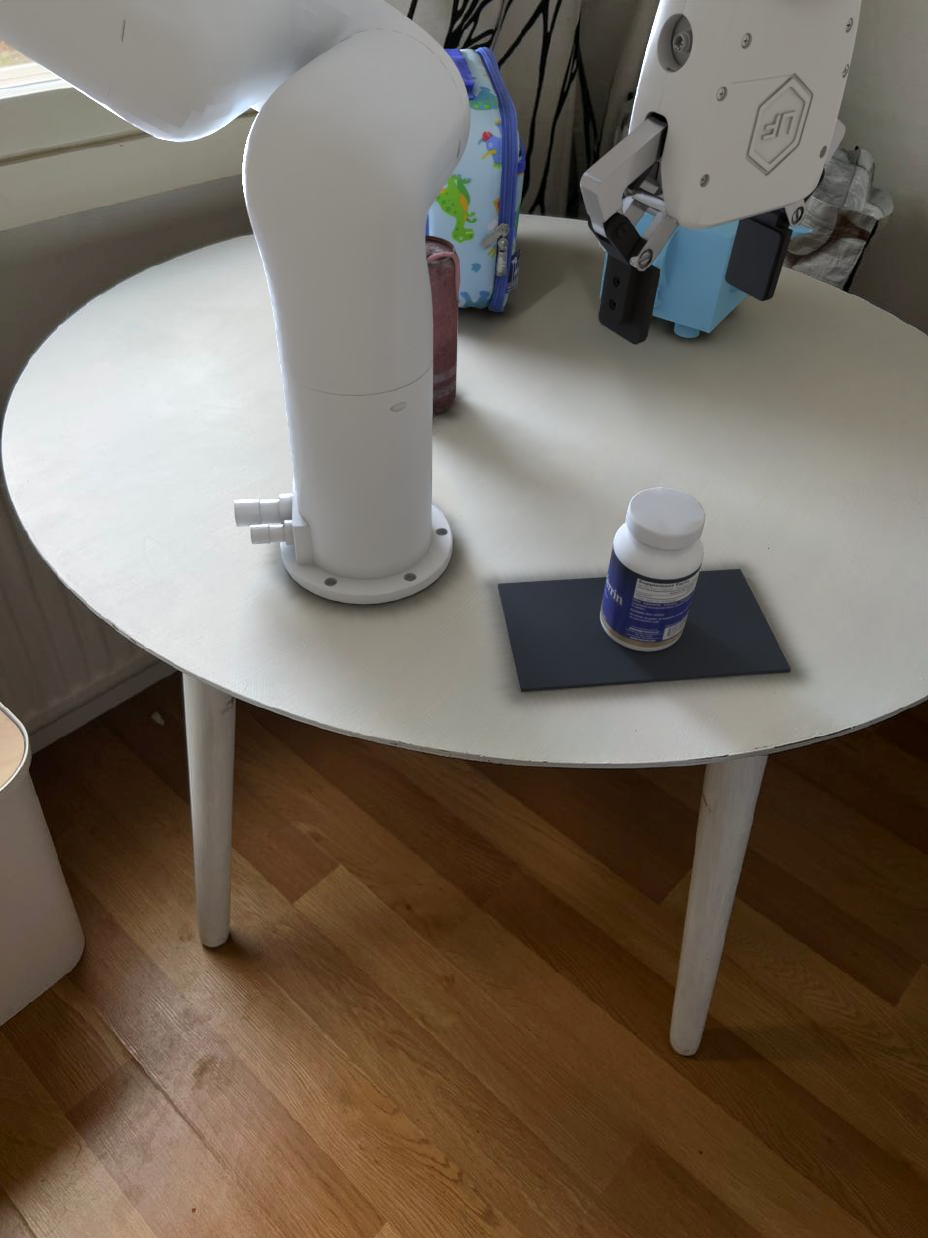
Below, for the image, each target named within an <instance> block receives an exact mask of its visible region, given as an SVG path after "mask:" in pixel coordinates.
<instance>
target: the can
mask: <svg viewBox="0 0 928 1238" xmlns="http://www.w3.org/2000/svg"><path fill="white" fill-rule="evenodd" d="M425 247H426V259H427V265H428V272H429V278H430V285H431V295H432V308H433V418H434V417H439V416H440V415H444V414H445V413H446V412H448V411H449V410H450V408H451V407H452V406H453V405H454V403H455V401H456V398H457V377H458V376H457V373H458V372H457V371H458V370H457V367H458V337H459V336H458V334H459V307H458V302H459V287H460V261H459V258H458V255H457V253H456V251H455V247H454V245H453V244H452V243H451V242H449V241H447V240H445V239H443V238H439V237H435V236H428V235H425Z"/></svg>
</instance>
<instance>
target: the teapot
mask: <svg viewBox="0 0 928 1238" xmlns="http://www.w3.org/2000/svg"><path fill="white" fill-rule="evenodd" d="M625 198H626V197H624V198H622V202H623V201H624V200H625ZM663 199H664V198H663ZM654 218H655V216H653V215H651V214H649V213H647V212H645V213H644V215H643V216H642V218H641V219H640V221H639V222H638V223H637V225H636V226H635V229H636V230H637V232H638V233H639V235H640V236H641V237H642V235H643V234H644V232H645V231H646V230H647V228H648V227H649V225H650V224H651V222H652V221H653V219H654ZM738 223H739V220H737V221H734V222H730V223H726V224H722V225H719V226H715V227H711V228H707V229H701V230H691V229H687V228H685V227H683V226H681V225H680V224H679V226H678V227H677V229H676V230H675V231H674V233H673V234H672V236H671V237H670V239H669V240H668V241H667V243H666V244H665V246H664V247H663V249H662V250H661V252H660V253H659V254H658V256H657V257H656V259H655V260H654V262H653V263H652V265H654V266H655V267H657V268H659V269H660V278H659V283H658V288H657V293H656V298H655V303H654V308H653V313H652V317H656V318H659V319H662V320H665V321H670V322H672V323H674V327H673V331H674V332H673V333H675V334H676V335H677V336H679V337H682V338H686V339H693V338H696V337H699V335H700V332H701V331H702V332H705V333H707V334H710V333H711V332H712V331H713V330H714V329H715V328H716V327H717V326H718V325H719V324H720V323H721V322H722V321H724V320H725V318H726V317H727V316H728V315H730V314H731V312H732V311H734V309H735V308H737V307H738V305H740V304H741V303H742V302H743V301H744V300H745V299H746V298H747V297H748V296H749V295H748V294H746V293H745V292H743V291H741V290H739V289H737V288H735V287H733V286H731V285H729V284H728V283H727V282H726V281H725V274H726V270H727V266H728V262H729V258H730V254H731V250H732V246H733V243H734V239H735V235H736V231H737V227H738ZM789 229H792V230H793V232H792V236H791V239H790V241H791V240H792V239H794V238H796V237H799V236H803V235H807V234H811V233H813V231H814V230H813V229H812V228H810V227H806V226H802V225H799V224H798V225H797V226H796V227H791V226H789ZM604 255H605V256H604V262H603V269H602V275H601V276H602V278H601V284H600V291H599V297H598V298H599V300H601V295H602V288H603V282H604V276H605V270H606V263H607V257H608V253H606V252H605V254H604Z"/></svg>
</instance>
